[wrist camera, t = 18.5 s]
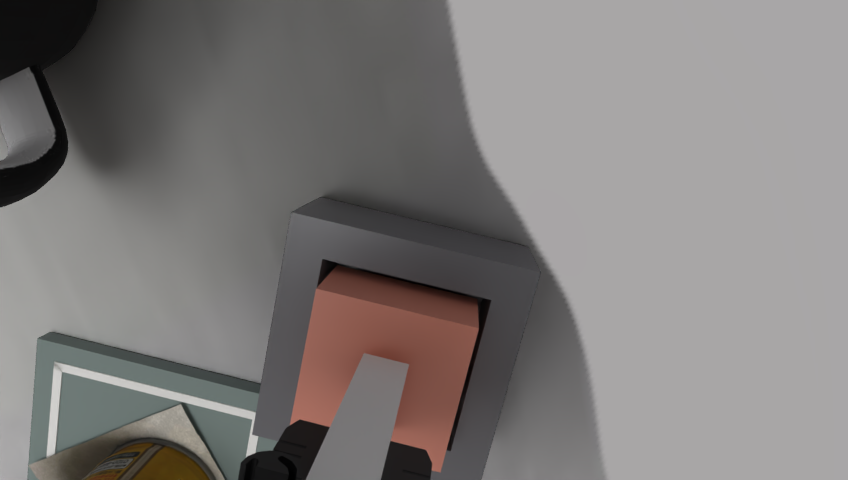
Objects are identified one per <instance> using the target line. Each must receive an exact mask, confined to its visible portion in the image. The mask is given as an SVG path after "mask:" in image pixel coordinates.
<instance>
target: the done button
mask: <svg viewBox="0 0 848 480" xmlns="http://www.w3.org/2000/svg"><path fill="white" fill-rule="evenodd" d="M478 330H479V320H478V302H477V299H475V298H471V297H467V296H463V295H459V294H455V293H451V292H447V291H442V290H438V289H434V288H430V287H426V286H422V285H418V284H414V283H410V282H405V281H401V280H397V279H393V278H389V277H385V276H381V275H377V274H372V273H368V272H364V271H360V270H356V269H352V268H348V267H344V266H340V265H337V266H336V267H335V268H334V269H333V271H332V272H331V273H330V274H329V275H328V276H327V277H326V278H325V279H324V280H323V281H322V283H321V284H320V285H319V286H318V287H317V288H316V291H315V297H314V302H313V307H312V312H311V317H310V323H309V328H308V333H307V338H306V343H305V349H304V354H303V359H302V364H301V369H300V375H299V380H298V385H297V390H296V396H295V401H294V406H293V411H292V416H291V422H290V425H291V424H293V423H295V422H296V421H298V420H299V419H300V420H304V421H308V422H312V423H316V424H320V425H324V426H328V427H330V426H331V424H332V421H333V419H334V417H335V415H336V413H337V411H338V408H339V406H340V404H341V402H342V400H343V398H344V395H345V393H346V391H347V389H348V387H349V384H350V382H351V380H352V378H353V376H354V374H355V371H356V369H357V367H358V365H359V363H360V361H361V358H362V356H363V354H364V353H366V354H370V355H374V356H378V357H382V358H386V359H390V360H394V361H398V362H402V363H406V364H409V367H408V371H407V375H406V379H405V383H404V388H403V392H402V396H401V400H400V404H399V408H398V413H397V417H396V421H395V425H394V429H393V433H392V438H391V441H393V442H397V443H401V444H405V445H409V446H413V447H416V448H420V449H424V450H426V451H427V453H428V455H429V457H430V459H431V462H432V471H436V472H441V468H442V465H443V461H444V457H445V454H446V450H447V446H448V442H449V439H450V435H451V431H452V427H453V424H454V420H455V416H456V412H457V409H458V405H459V401H460V397H461V394H462V390H463V386H464V382H465V379H466V375H467V371H468V367H469V364H470V360H471V356H472V353H473V349H474V345H475V341H476V338H477V334H478Z"/></svg>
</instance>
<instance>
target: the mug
mask: <svg viewBox="0 0 848 480" xmlns="http://www.w3.org/2000/svg"><path fill="white" fill-rule="evenodd" d="M97 1H98V0H0V127H1V130H2V132H3V135H4V137H5V140H6V143H7V147H8V150H9V151H8V156H7V157H6V158H5V159H4V160H2V161H0V207H3V206H7V205H9V204H12V203H14V202H17V201H19V200H21V199H23V198H25V197H27V196H29V195H31V194H33V193H35V192H36V191H37V190H39V189H40V188H41V187H42V186H44V185H45V184H46V183H47V182H48V181H49V180H50V179H51V178H52V177H53V176H55V175H56V173H57V172H58V171H59V169H60V168H61V167H62V165H63V164H64V161H65V159H66V156H67V152H68V139H67V133H66V129H65V126H64V124H63V121H62V118H61V115H60V113H59V110H58V107H57V105H56V103H55V100H54V98H53V96H52V93H51V91H50V88H49V86H48V84H47V81H46V79H45V77H44V74H43V72H42V70H43V69H45V68H47V67H48V66H50V65H51V64H53V63H55V62H56V61H58V60H59V59H61V58H62V57H63V56H64V55H65V54H66V53H68V52H69V51H70V50H71V49H72V48H73V47H74V46H75V45H76V43H77V42H78V40H79V39H80V38H81V36H82V35H83V34H84V32H85V31H86V29H87V27H88V25H89V23H90V21H91V19H92V16H93V14H94V12H95V10H96V5H97Z"/></svg>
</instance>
